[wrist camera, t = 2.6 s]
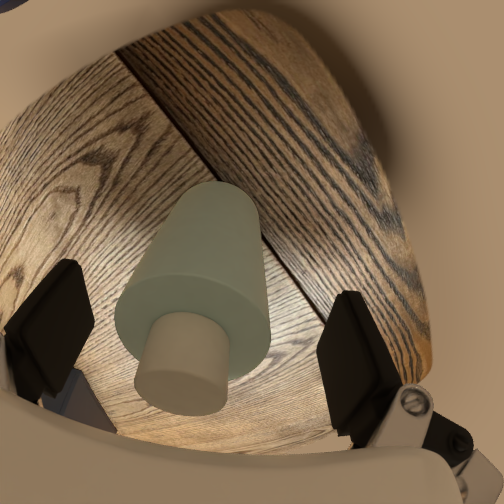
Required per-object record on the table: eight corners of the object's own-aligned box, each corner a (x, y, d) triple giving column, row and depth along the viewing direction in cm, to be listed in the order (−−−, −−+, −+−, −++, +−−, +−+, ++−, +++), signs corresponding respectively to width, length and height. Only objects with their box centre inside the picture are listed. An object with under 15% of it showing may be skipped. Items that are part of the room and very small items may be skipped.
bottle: (158, 200, 14) (56, 346, 5) (241, 167, 14) (230, 306, 5) (194, 270, 17) (156, 435, 8) (270, 246, 16) (295, 420, 7)
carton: (7, 343, 22) (-38, 428, 10) (81, 370, 23) (41, 482, 11) (52, 408, 30) (29, 476, 18) (117, 430, 31) (100, 508, 19)
